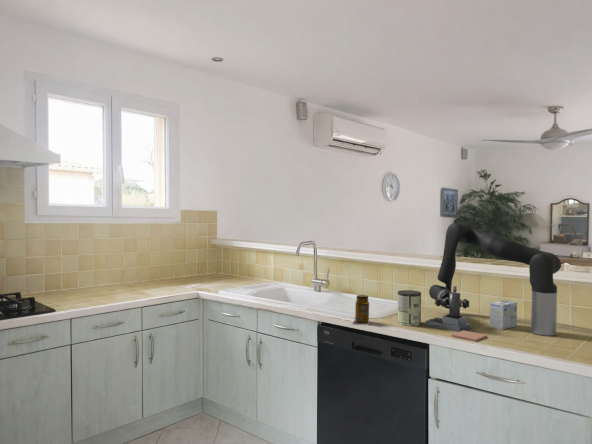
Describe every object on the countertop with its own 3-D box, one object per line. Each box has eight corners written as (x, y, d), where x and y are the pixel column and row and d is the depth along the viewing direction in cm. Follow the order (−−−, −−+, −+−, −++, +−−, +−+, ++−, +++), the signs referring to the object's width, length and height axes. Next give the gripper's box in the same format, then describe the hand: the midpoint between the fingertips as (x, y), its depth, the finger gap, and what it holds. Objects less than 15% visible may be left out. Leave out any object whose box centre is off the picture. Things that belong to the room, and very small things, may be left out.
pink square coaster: (463, 332, 189) (463, 330, 189) (487, 337, 182) (487, 335, 182) (451, 336, 183) (451, 334, 183) (475, 341, 175) (475, 339, 175)
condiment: (370, 321, 209) (370, 294, 209) (368, 325, 200) (369, 298, 200) (354, 320, 210) (354, 294, 210) (352, 324, 202) (352, 297, 202)
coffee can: (404, 319, 212) (404, 289, 212) (424, 323, 205) (425, 291, 205) (392, 323, 204) (393, 291, 204) (413, 327, 198) (414, 294, 197)
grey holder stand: (436, 321, 208) (437, 310, 208) (470, 328, 196) (471, 316, 196) (425, 325, 201) (425, 313, 201) (459, 332, 190) (459, 320, 189)
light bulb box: (503, 323, 206) (503, 299, 206) (517, 326, 200) (517, 302, 200) (488, 326, 200) (489, 302, 200) (503, 329, 194) (503, 304, 194)
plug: (452, 321, 200) (452, 284, 199) (461, 323, 196) (462, 285, 196) (447, 323, 197) (447, 285, 196) (456, 325, 193) (457, 287, 193)
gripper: (431, 290, 211) (438, 296, 195) (463, 291, 210) (473, 297, 193) (431, 306, 212) (438, 314, 195) (463, 307, 210) (473, 315, 194)
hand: (455, 305), depth 194 cm, fingers open, 7 cm apart
